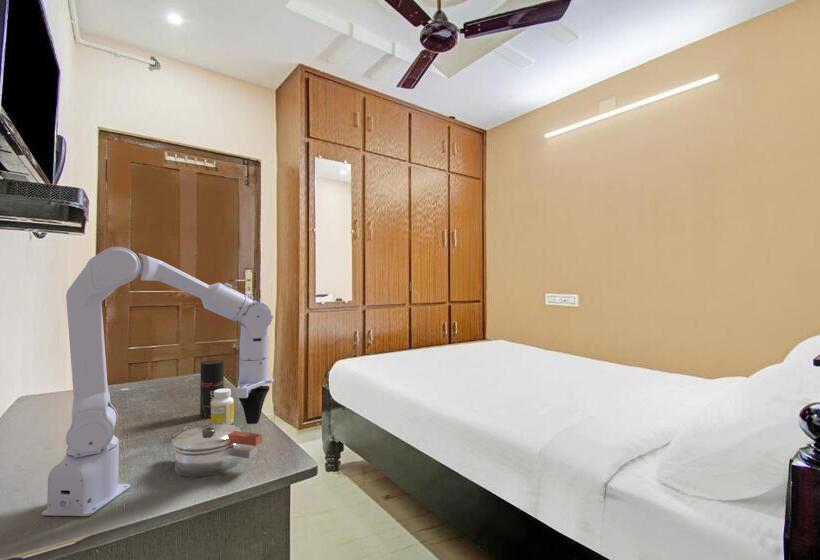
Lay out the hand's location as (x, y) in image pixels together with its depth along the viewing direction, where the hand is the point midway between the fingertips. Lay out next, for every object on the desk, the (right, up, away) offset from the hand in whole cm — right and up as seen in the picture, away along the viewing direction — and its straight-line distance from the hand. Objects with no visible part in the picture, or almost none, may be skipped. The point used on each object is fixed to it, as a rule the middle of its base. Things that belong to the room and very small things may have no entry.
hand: (252, 422), depth 84 cm
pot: (-8, -8, -1) cm, 11 cm away
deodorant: (-23, -9, +30) cm, 39 cm away
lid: (-6, -3, -1) cm, 7 cm away
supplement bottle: (-16, -9, +19) cm, 26 cm away
